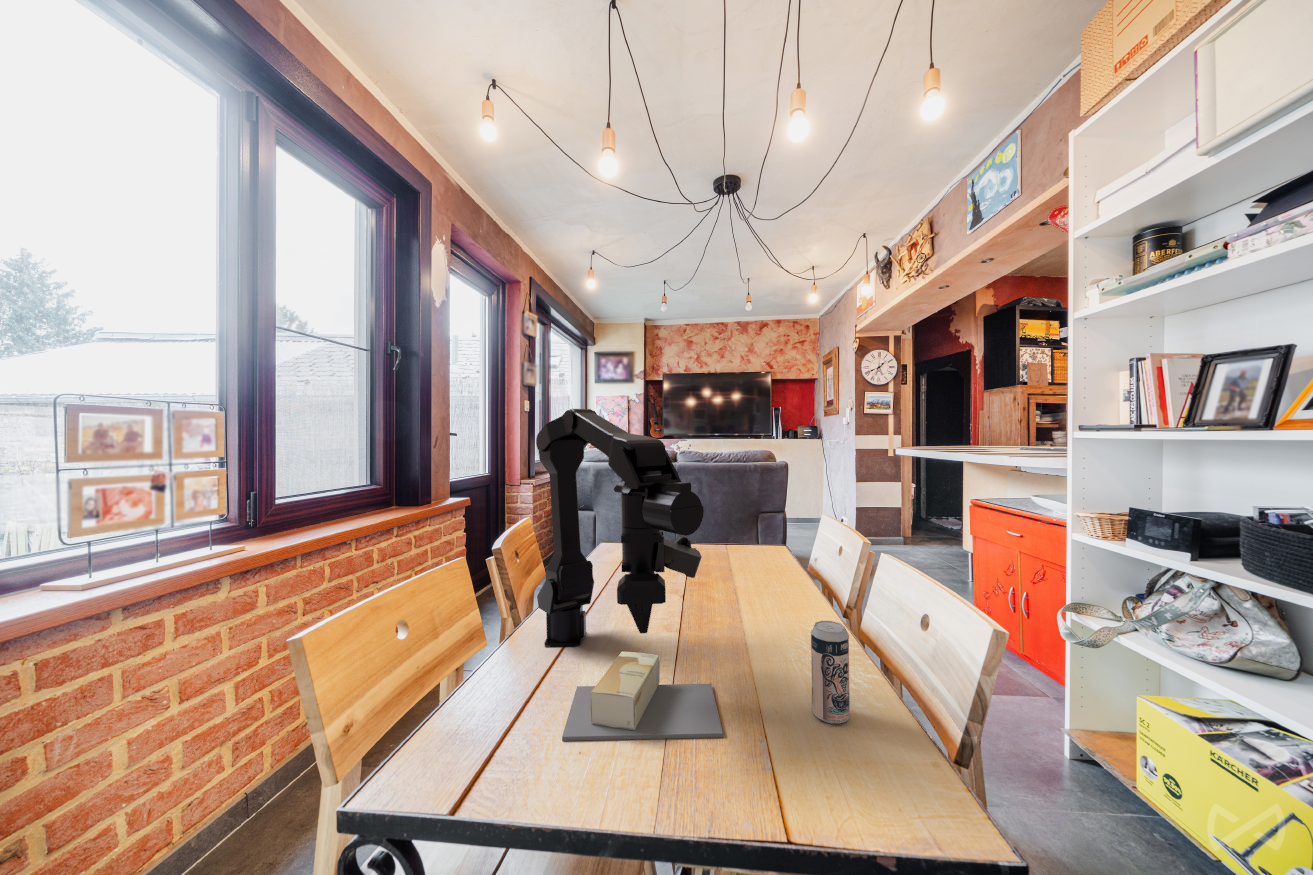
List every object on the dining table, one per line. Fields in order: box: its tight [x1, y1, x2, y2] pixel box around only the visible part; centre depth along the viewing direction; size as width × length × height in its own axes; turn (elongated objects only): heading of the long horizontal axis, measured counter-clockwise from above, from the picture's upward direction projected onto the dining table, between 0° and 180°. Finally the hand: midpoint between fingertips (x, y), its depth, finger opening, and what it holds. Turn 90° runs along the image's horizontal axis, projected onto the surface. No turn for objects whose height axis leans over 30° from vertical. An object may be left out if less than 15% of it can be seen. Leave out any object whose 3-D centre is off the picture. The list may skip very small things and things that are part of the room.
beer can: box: [810, 620, 851, 725], centre depth 64 cm, size 5×5×12 cm
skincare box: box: [590, 651, 661, 730], centre depth 67 cm, size 6×4×12 cm
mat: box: [561, 683, 724, 742], centre depth 66 cm, size 20×12×1 cm, turn 91°
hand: (643, 632), depth 70 cm, fingers closed
